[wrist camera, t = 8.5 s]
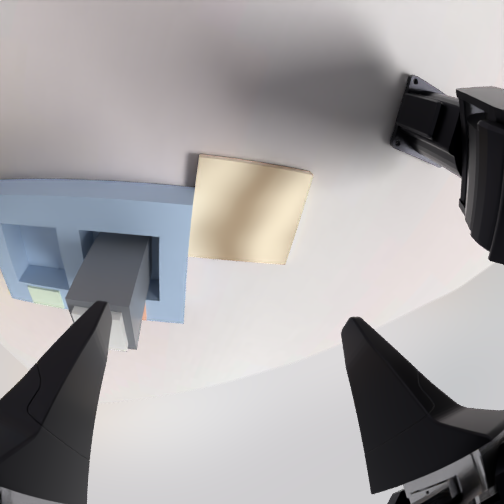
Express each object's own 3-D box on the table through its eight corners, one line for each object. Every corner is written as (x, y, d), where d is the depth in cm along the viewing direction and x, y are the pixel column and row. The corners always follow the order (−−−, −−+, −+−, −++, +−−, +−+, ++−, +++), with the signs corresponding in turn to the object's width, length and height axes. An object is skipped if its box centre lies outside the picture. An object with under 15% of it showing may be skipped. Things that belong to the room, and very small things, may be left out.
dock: (195, 187, 19) (192, 207, 16) (184, 300, 25) (183, 327, 23) (-1, 179, 15) (-22, 196, 12) (24, 280, 21) (12, 301, 19)
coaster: (310, 171, 19) (313, 175, 19) (283, 259, 24) (285, 264, 23) (199, 154, 18) (199, 157, 17) (188, 250, 22) (187, 256, 21)
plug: (151, 229, 20) (127, 315, 13) (152, 270, 22) (135, 357, 15) (103, 225, 19) (61, 306, 12) (108, 266, 21) (78, 348, 14)
